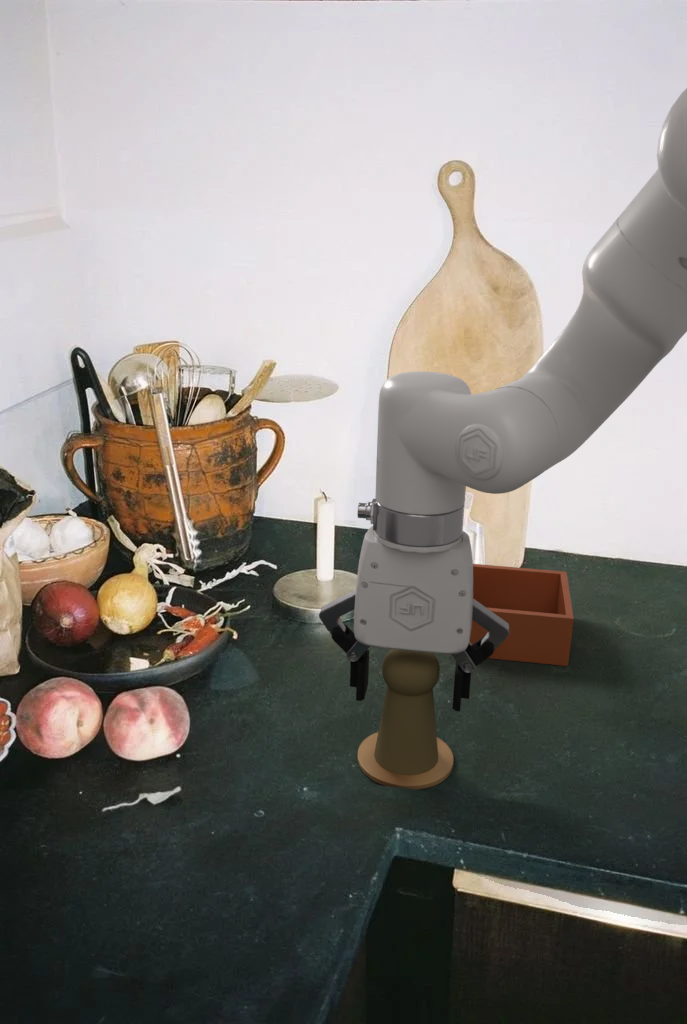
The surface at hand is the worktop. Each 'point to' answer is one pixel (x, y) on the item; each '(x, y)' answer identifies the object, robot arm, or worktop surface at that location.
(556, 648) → the terracotta open box
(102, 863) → the worktop surface
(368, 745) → the coaster
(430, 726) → the olive brown pawn
